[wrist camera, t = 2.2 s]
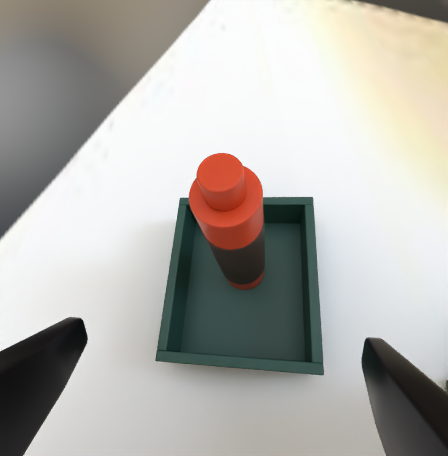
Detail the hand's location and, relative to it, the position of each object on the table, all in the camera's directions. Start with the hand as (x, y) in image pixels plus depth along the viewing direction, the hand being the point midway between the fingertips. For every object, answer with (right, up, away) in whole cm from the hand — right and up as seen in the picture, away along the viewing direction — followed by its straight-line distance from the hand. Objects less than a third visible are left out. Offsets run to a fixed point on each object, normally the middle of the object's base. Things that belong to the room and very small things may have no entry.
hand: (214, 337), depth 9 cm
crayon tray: (+2, -1, +13) cm, 13 cm away
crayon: (+2, 0, +13) cm, 13 cm away
